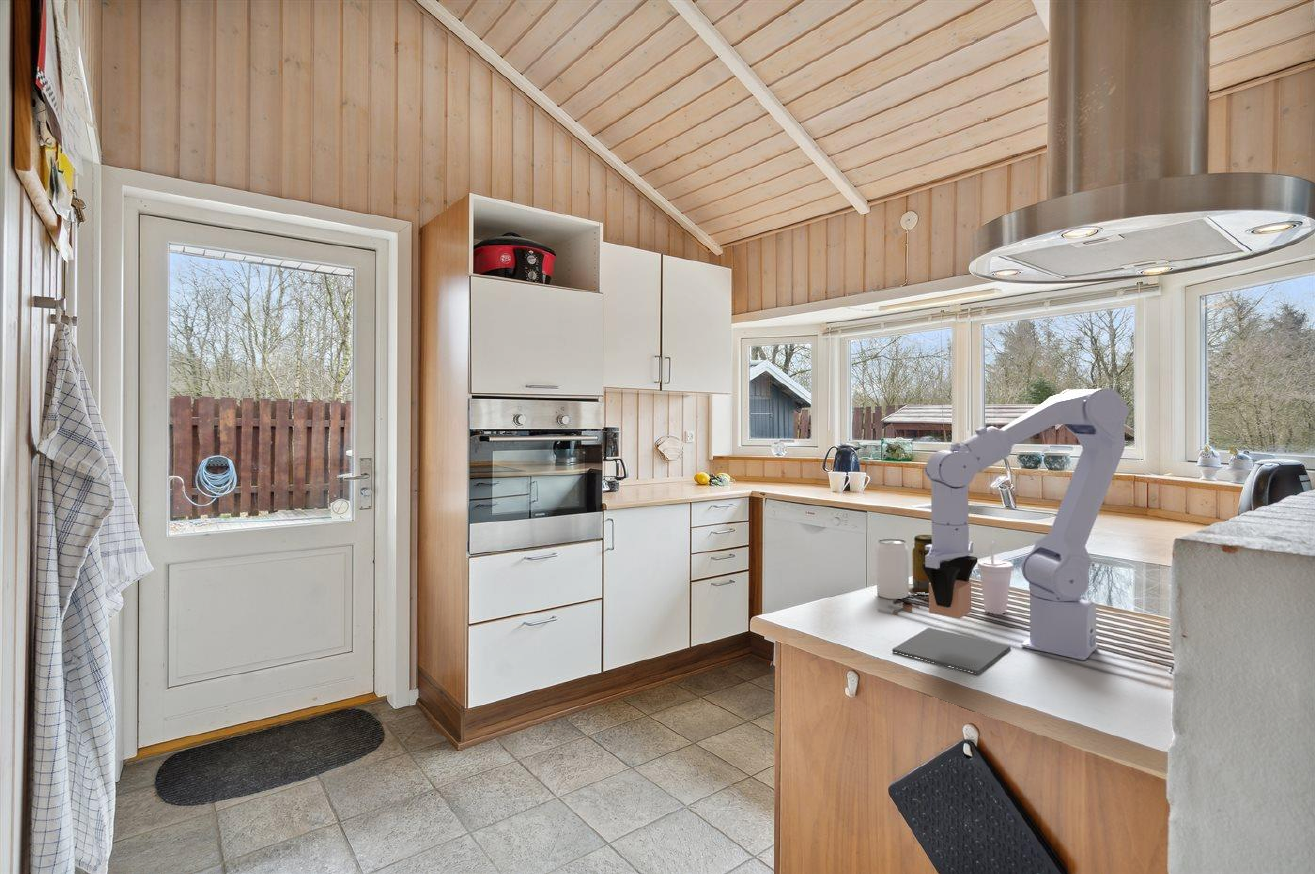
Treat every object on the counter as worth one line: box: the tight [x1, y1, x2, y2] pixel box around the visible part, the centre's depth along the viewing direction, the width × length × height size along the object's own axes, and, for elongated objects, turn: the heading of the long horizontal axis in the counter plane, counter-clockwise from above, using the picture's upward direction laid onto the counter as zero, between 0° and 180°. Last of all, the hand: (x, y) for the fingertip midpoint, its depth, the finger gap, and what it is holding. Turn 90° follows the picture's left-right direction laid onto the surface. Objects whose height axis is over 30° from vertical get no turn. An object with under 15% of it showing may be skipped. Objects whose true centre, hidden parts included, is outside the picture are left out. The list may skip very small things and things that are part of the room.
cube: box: [928, 580, 972, 620], centre depth 114 cm, size 5×5×5 cm
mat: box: [891, 627, 1011, 675], centre depth 114 cm, size 14×14×1 cm
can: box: [876, 538, 910, 601], centre depth 145 cm, size 6×6×12 cm
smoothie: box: [977, 540, 1015, 615], centre depth 133 cm, size 6×6×14 cm
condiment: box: [909, 534, 932, 596], centre depth 148 cm, size 7×8×12 cm
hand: (950, 602), depth 114 cm, fingers closed on cube, 5 cm apart
